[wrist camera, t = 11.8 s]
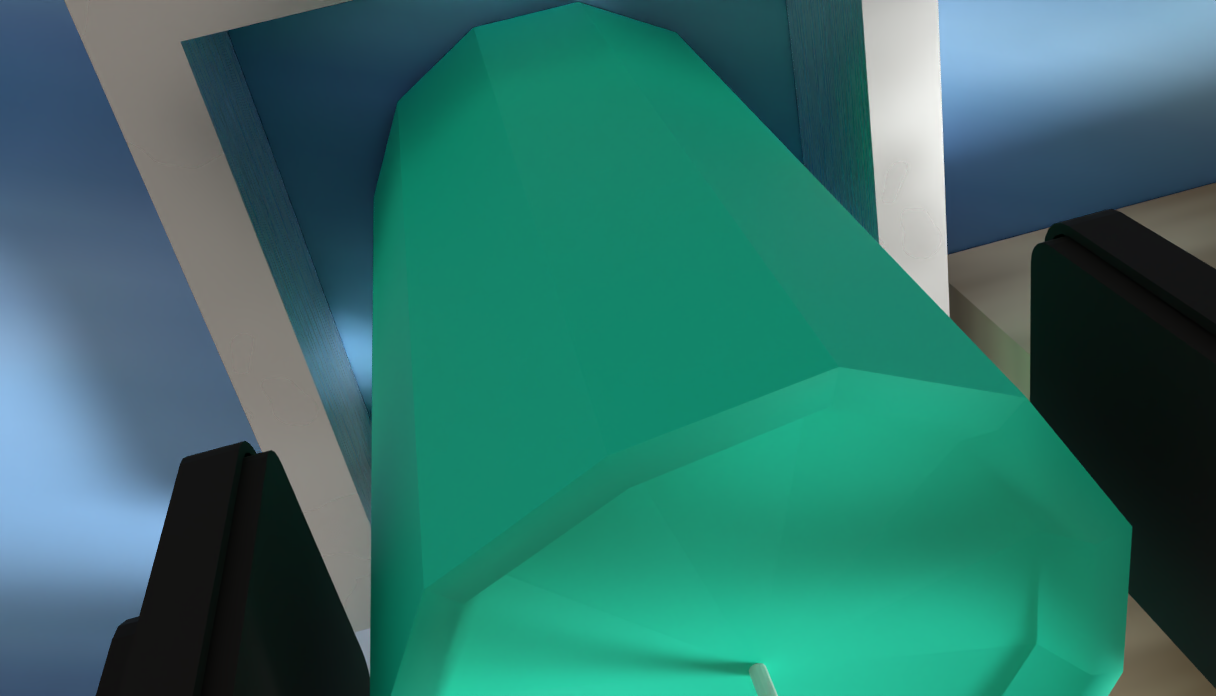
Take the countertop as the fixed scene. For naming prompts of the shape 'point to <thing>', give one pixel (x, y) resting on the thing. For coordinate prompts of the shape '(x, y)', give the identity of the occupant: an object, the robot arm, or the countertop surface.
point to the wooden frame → (1000, 327)
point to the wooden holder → (285, 275)
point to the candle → (690, 412)
